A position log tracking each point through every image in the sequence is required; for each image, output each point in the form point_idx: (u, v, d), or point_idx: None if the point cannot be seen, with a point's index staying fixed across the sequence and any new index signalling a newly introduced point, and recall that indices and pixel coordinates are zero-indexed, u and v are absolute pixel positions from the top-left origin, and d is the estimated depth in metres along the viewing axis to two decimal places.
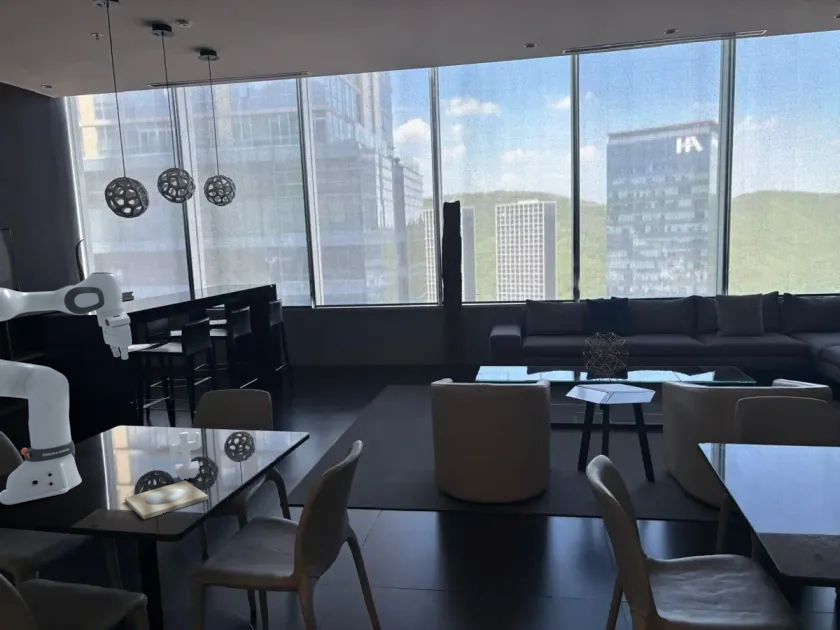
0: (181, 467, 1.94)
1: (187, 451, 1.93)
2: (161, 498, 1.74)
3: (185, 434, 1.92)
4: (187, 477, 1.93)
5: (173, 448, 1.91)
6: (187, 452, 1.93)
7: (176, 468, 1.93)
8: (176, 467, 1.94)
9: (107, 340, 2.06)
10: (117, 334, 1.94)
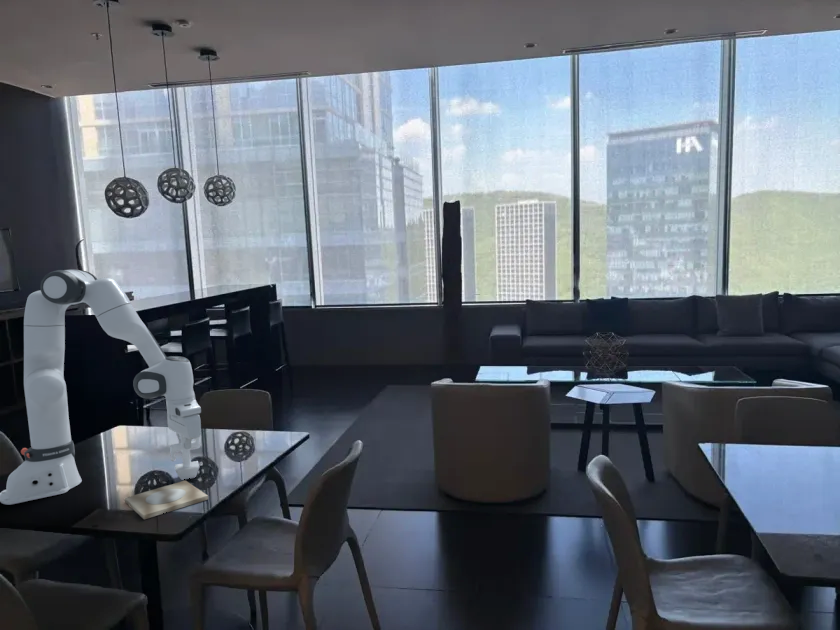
0: (181, 467, 1.94)
1: (187, 450, 1.93)
2: (161, 498, 1.74)
3: None
4: (187, 477, 1.93)
5: (173, 448, 1.91)
6: (187, 452, 1.93)
7: (176, 468, 1.93)
8: (176, 467, 1.94)
9: (172, 426, 1.96)
10: (187, 425, 1.85)
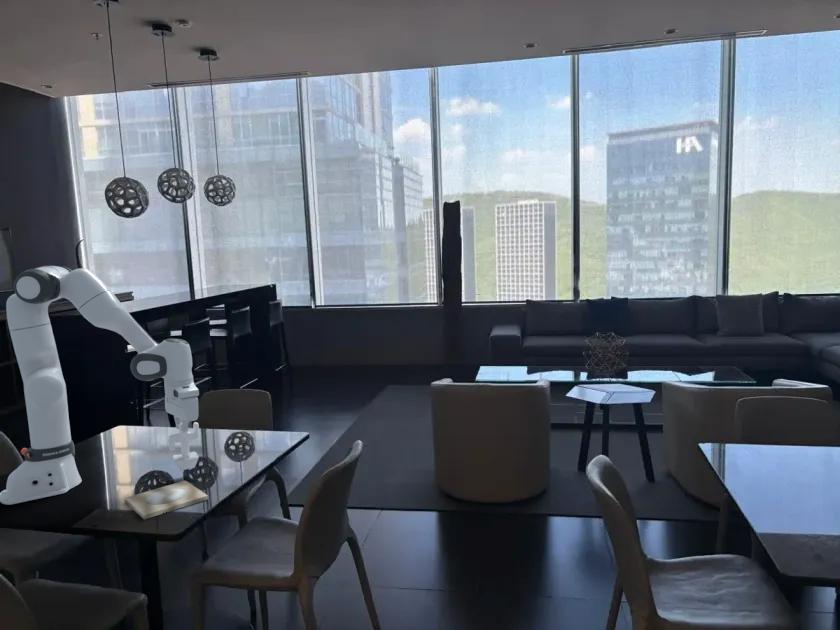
0: (180, 457, 1.93)
1: (186, 441, 1.93)
2: (161, 498, 1.74)
3: None
4: (186, 467, 1.93)
5: (172, 438, 1.91)
6: (186, 442, 1.93)
7: (175, 458, 1.93)
8: (174, 457, 1.93)
9: (169, 409, 1.96)
10: (185, 407, 1.84)
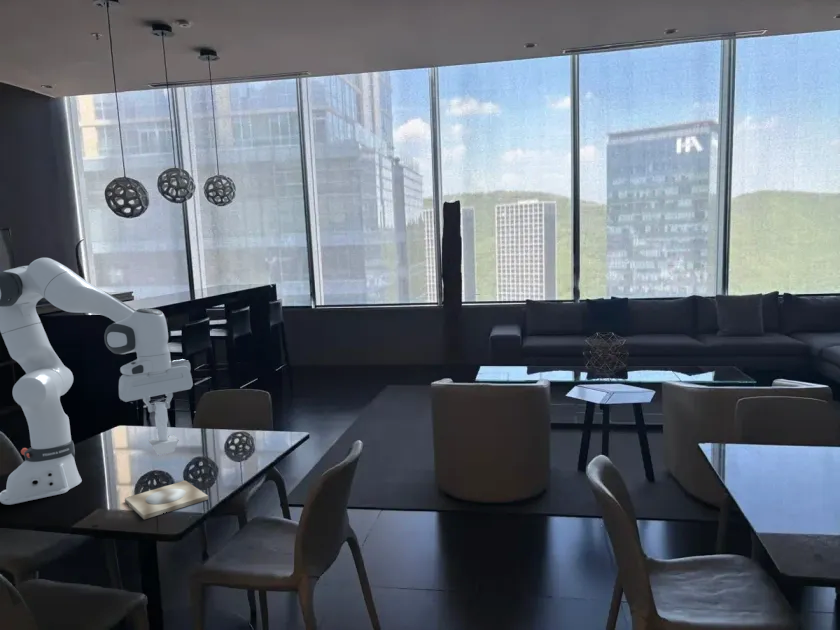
0: None
1: (157, 423, 1.73)
2: (161, 498, 1.74)
3: (154, 404, 1.73)
4: (155, 451, 1.74)
5: (155, 415, 1.77)
6: (157, 425, 1.73)
7: None
8: None
9: None
10: (119, 384, 1.68)
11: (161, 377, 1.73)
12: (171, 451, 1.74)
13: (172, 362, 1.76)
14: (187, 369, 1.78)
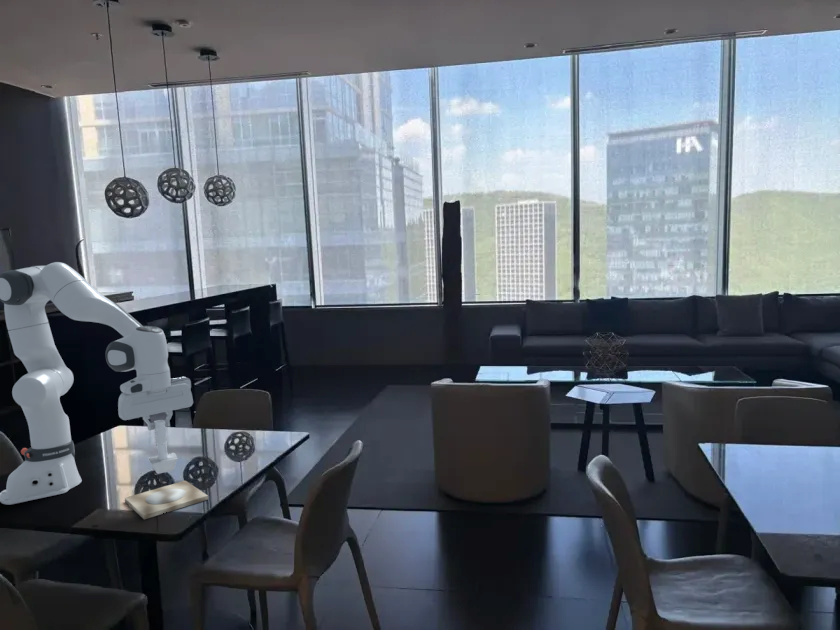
0: None
1: (156, 441, 1.73)
2: (161, 498, 1.74)
3: (154, 422, 1.72)
4: None
5: (155, 433, 1.76)
6: (157, 443, 1.73)
7: None
8: None
9: None
10: (118, 402, 1.68)
11: (161, 395, 1.72)
12: (170, 469, 1.73)
13: (172, 380, 1.75)
14: (187, 387, 1.77)
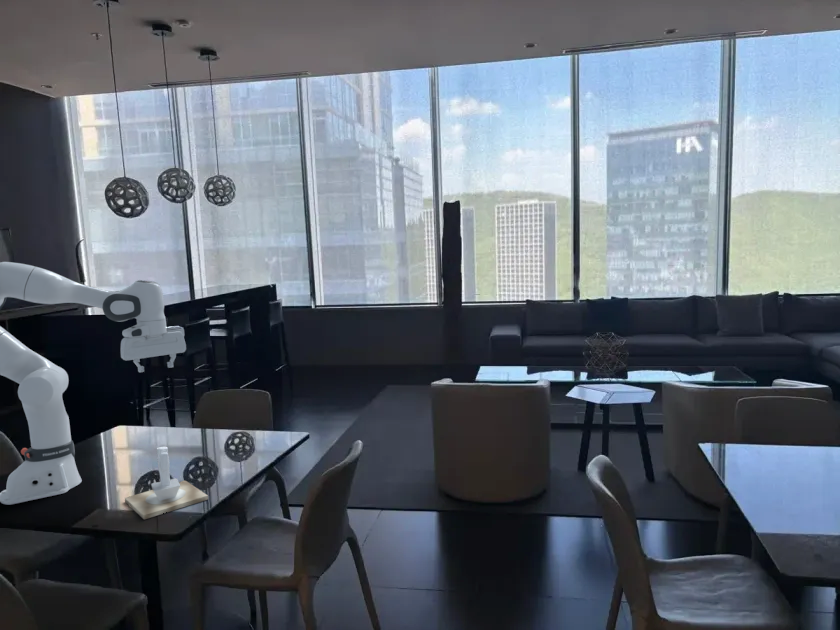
0: None
1: (159, 468, 1.73)
2: None
3: (157, 449, 1.73)
4: None
5: None
6: (159, 470, 1.73)
7: None
8: None
9: None
10: None
11: (158, 340, 1.97)
12: (173, 496, 1.74)
13: (168, 328, 2.00)
14: (181, 334, 2.02)
